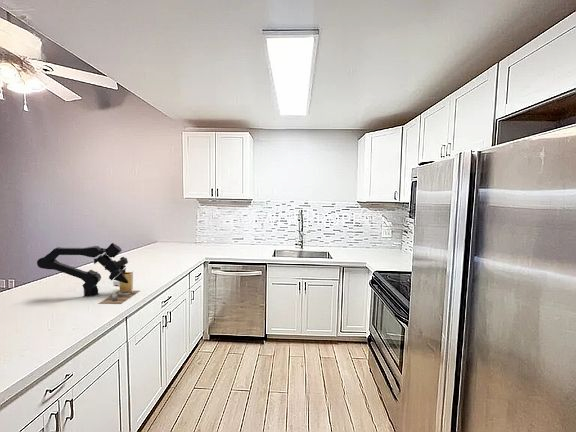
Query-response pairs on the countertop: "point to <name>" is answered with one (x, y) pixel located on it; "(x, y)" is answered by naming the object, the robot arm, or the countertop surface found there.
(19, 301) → the countertop surface
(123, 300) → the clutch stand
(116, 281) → the bracket
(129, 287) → the gold square tube
